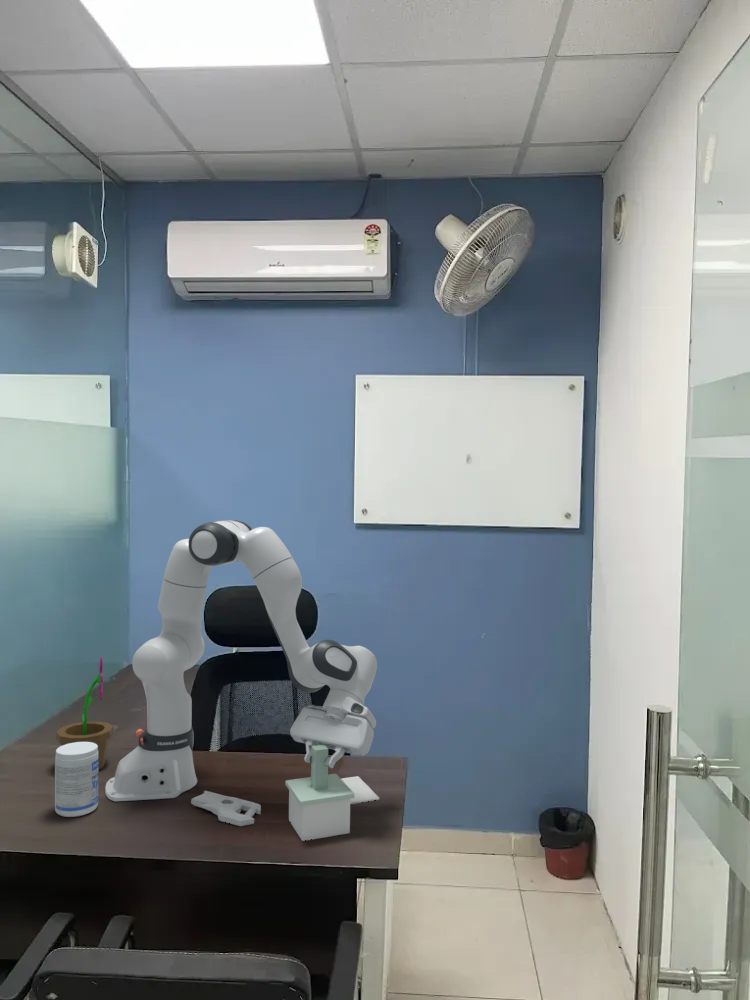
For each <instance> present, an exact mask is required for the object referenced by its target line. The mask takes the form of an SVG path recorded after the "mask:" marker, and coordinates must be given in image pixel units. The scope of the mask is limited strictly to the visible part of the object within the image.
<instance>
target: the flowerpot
mask: <svg viewBox="0 0 750 1000" xmlns="http://www.w3.org/2000/svg"><path fill="white" fill-rule="evenodd" d="M98 666H99V667H98V669H99V670H98V674H97V676H96V677H95V679H93V681H92V682H91V684H90V686H89V688H88V690H87V691H86V695H85V700H84V703H83V704H84V705H83V709H82V710H83V711H82V713H83V714H82V716H81V721H80V722H75V723H70V724H68V725H65V726H62V727H60V728H59V729H58V730H57V731H56V737H55V738H56V739H55V740H56V742H58V744H60V746H63V745H65V744H69V743H74V742H92V743H95V744H97V745H98V771H99V770H101V769H103V768H104V767H105V764H106V759H107V758H106V757H107V749H108V743H109V740H110V739H111V737H112V736H113V734H114V726H113V725H112V724H110V723H109V722H103V721H88V708H89V707H90V705H91V704H92V703H93V702H94V698H93V697H92V696H91V693H92V691H93V689H94V687H95V685H96V684H97V683H98V684H99V688H98V689H99V691H98V693H99V695H98V696H99V700H100V701H102V700H103V692H104V691H103V682H104V674H103V657H102V656H100V658H99V664H98Z"/></svg>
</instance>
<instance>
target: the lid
mask: <svg viewBox="0 0 750 1000" xmlns="http://www.w3.org/2000/svg"><path fill="white" fill-rule="evenodd" d="M327 757H329V748H327V747H326V746H325V745H316V746H312V749H311V763H310V764H311V765H310V766H311V767H310V776H308V777H302V778H301V777H300V778H294V779H287V780H285V787H287V789H288V791H289V790H290V792H291V793H292V795H293V796H294V798H295V799H296V800H297V802H298V803H299V805H300V806H306V805H312V804H319V803H326V802H332V801H339V800H345V799H352V798H354V793H353V792H352V790H351V789H350V788H349V787H348V786H347V785H346V784H345V783H344V782H343V780H342V779H341V777H340V776H339V775H338V774H337V773H330V774H329V767H326V765H325V762H326V761H327V760H326V759H327Z"/></svg>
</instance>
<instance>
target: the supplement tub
mask: <svg viewBox="0 0 750 1000" xmlns="http://www.w3.org/2000/svg"><path fill="white" fill-rule="evenodd" d="M54 757H55V758H54V761H55V762H54V810H55V813H56V814H57V815H58V816H61V817H66V818H77V817H80V816H85V815H87V814H89V813H92V812H94V811H95V810H96V809H97V808H98V807H99V806H98V805H99V770H98V745H97V744H95V743H92V742H74V743H69V744H65V745H63V746H61V745H60V746H59V747H58V748H56V750H55V756H54Z"/></svg>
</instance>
